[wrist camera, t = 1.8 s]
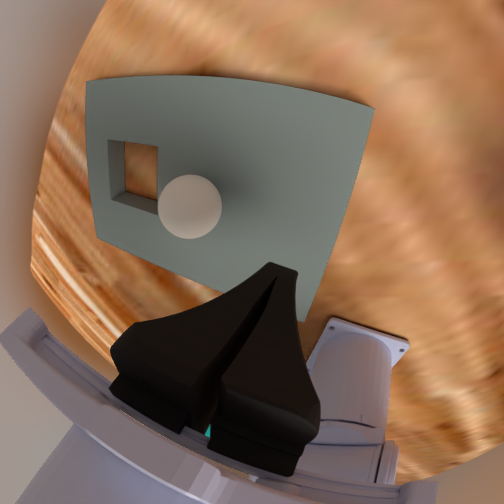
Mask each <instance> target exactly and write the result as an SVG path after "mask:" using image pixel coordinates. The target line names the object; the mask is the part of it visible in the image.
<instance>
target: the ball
mask: <svg viewBox="0 0 504 504" xmlns="http://www.w3.org/2000/svg"><path fill="white" fill-rule="evenodd" d="M221 211H222V201H221V197H220V194H219V192H218V190H217V188H216V187H215V186H214V185H213V184H212V183H211V182H210V181H209V180H207V179H206V178H204V177H201V176H198V175H183V176H180V177H177V178H175V179H174V180H172V181H171V182H169V183H168V184H167V185H166V186H165V188H164V189H163V191H162V193H161V195H160V198H159V202H158V213H159V217H160V220H161V222H162V224H163V225H164V227H165V228H166V229H167V230H168V231H169V232H170V233H172V234H173V235H175V236H177V237H180V238H184V239H195V238H199V237H202V236H204V235H206V234H207V233H209V232H210V231H211V230H212V229H213V228H214V227H215V226H216V224H217V223H218V221H219V219H220V216H221Z"/></svg>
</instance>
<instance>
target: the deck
mask: <svg viewBox="0 0 504 504" xmlns="http://www.w3.org/2000/svg"><path fill="white" fill-rule="evenodd" d="M374 110H375V108H372V107H368V106H365V105H362V104H359V103H356V102H352V101H349V100H345V99H342V98H338V97H334V96H330V95H326V94H322V93H318V92H314V91H309V90H305V89H300V88H295V87H290V86H284V85H279V84H273V83H266V82H259V81H252V80H244V79H234V78H223V77H210V76H186V75H156V76H134V77H120V78H110V79H101V80H93V81H86V104H85V126H86V152H87V166H88V178H89V187H90V196H91V203H92V211H93V217H94V224H95V229H96V235H97V238H98V239H100V240H102V241H105V242H107V243H109V244H111V245H113V246H115V247H117V248H120V249H122V250H124V251H126V252H128V253H130V254H133V255H135V256H137V257H139V258H142V259H144V260H146V261H148V262H151V263H153V264H155V265H157V266H160V267H162V268H164V269H167V270H169V271H171V272H174V273H176V274H178V275H181V276H183V277H186V278H188V279H190V280H193V281H195V282H198V283H200V284H203V285H205V286H207V287H210V288H212V289H215V290H217V291H220V292H222V293H226V292H227V291H229V290H231V289H232V288H234V287H236V286H237V285H239V284H240V283H242V282H243V281H245V280H246V279H247V278H249V277H250V276H252V275H253V274H254V273H255V272H257V271H258V270H259V269H260V268H262V267H263V266H264V265H265V264H266V263H268V262H273V263H276V264H279V265H282V266H285V267H287V268H290V269H293V270H296V271H297V272H298V277H297V282H296V316H297V321H300V322H303V323H304V321H305V319H306V316H307V314H308V312H309V309H310V307H311V304H312V302H313V299H314V297H315V294H316V292H317V289H318V287H319V284H320V282H321V279H322V277H323V274H324V271H325V269H326V266H327V263H328V261H329V258H330V255H331V253H332V250H333V247H334V244H335V241H336V239H337V236H338V233H339V230H340V227H341V224H342V221H343V218H344V215H345V212H346V209H347V206H348V203H349V200H350V197H351V193H352V190H353V187H354V184H355V180H356V177H357V174H358V170H359V167H360V163H361V160H362V156H363V153H364V149H365V145H366V142H367V138H368V134H369V130H370V126H371V122H372V118H373V114H374ZM124 142H132V143H138V144H145V145H151V146H157V147H158V164H157V199H158V201H155V200H151V199H148V198H145V197H141V196H138V195H135V194H131V193H128V192H126V188H125V167H124ZM183 175H198V176H201V177H204V178H206V179H207V180H209V181H210V182H211V183H212V184H213V185H214V186H215V187H216V188H217V190H218V192H219V194H220V197H221V201H222V211H221V216H220V219H219V221H218V223H217V224H216V226H215V227H214V228H213V229H212V230H211V231H210V232H209V233H207V234H206V235H204V236H202V237H199V238H195V239H184V238H180V237H177V236H175V235H173V234H172V233H170V232H169V231H168V230H167V229H166V228H165V227H164V225H163V224H162V222H161V220H160V217H159V213H158V202H159V198H160V195H161V193H162V191H163V189H164V188H165V186H166V185H167V184H168V183H169V182H171V181H172V180H174V179H175V178H177V177H180V176H183Z"/></svg>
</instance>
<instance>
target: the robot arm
mask: <svg viewBox="0 0 504 504" xmlns="http://www.w3.org/2000/svg"><path fill="white" fill-rule="evenodd" d="M297 277H298V272H297V271H296V270H293V269H290V268H287V267H285V266H282V265H279V264H276V263H273V262H268V263H266V264H265V265H264V266H263V267H262V268H260V269H259V270H258V271H257V272H255V273H254V274H253V275H252V276H250V277H249V278H247V279H246V280H245V281H243V282H242V283H240V284H239V285H237V286H236V287H234V288H232V289H231V290H229V291H227V292H226V293H224V294H222V295H220V296H219V297H217V298H215V299H213V300H211V301H209V302H206V303H204V304H202V305H199V306H197V307H195V308H192V309H189V310H187V311H184V312H181V313H177V314H174V315H170V316H167V317H163V318H159V319H154V320H148V321H143V322H136V323H134V324H133V325H132V326H130V327H129V328H128V329H127V330H126V331H125V332H124V333H123V334H122V335H121V336H120V337H119V338H118V340H117V341H116V342H115V343H114V344H113V345H112V346H111V348H110V353H111V357H112V359H113V361H114V363H115V366H116V368H117V370H118V372H119V375H118V377H117V378H116V379H115V380H114V381H113V383H112V382H111V381H109V380H108V379H107V378H105V377H104V376H102V375H101V374H100V373H98V372H97V371H96V370H94V369H93V368H92V367H90V366H89V365H88V364H86V363H85V362H84V361H83V360H81V359H80V358H79V357H78V356H76V355H75V354H74V353H73V352H72V351H70V350H69V349H68V348H67V347H66V346H64V345H63V344H62V343H61V342H60V341H59V340H58V339H56V338H55V337H54V336H53V335H52V334H51V333H50V332H49V331H48V328H47V326H46V325H45V323H44V321H43V320H42V319H41V318H40V317H39V316H38V315H37V314H36V313H35V312H34V311H33V310H32V309H31V308H28V309H27V310H25V311H24V312H23V313H22V314H21V315H20V316H19V317H18V318H17V319H16V320H15V321H14V322H13V323H11V324H10V325H9V326H8V327H7V328H6V329H5V330H4V331H3V332H2V333H1V334H0V343H1V344H2V346H3V347H4V348H5V350H6V351H7V352H8V354H9V355H10V356H11V357H12V359H13V360H14V361H15V363H16V364H17V365H18V366H19V367H20V369H21V370H22V371H23V372H24V373H25V375H26V376H27V377H28V378H29V379H30V380H31V381H32V382H33V384H34V385H35V386H36V387H37V388H38V389H39V390H40V391H41V392H42V393H43V394H44V395H45V396H46V397H47V398H48V399H49V400H50V401H51V402H52V403H53V404H54V405H55V406H56V407H57V408H58V409H59V410H60V411H61V412H62V413H63V414H64V415H66V416H67V417H68V418H69V419H70V420H71V421H72V422H74V425H73V426H72V428H71V429H70V430H69V431H68V432H67V434H66V435H65V436H64V438H63V439H62V440H61V442H60V443H59V445H58V446H57V447H56V448H55V450H54V451H53V452H52V453H51V455H50V456H49V458H48V459H47V460H46V462H45V463H44V464H43V466H42V467H41V468H40V470H39V471H38V472H37V474H36V475H35V477H34V478H33V479H32V481H31V482H30V484H29V485H28V486H27V488H26V489H25V491H24V492H23V494H22V495H21V496H20V498H19V499H18V500H17V502H16V503H15V504H435V502H436V497H437V490H438V483H439V482H438V481H421V480H420V481H411V482H407V483H405V484H403V485H394V482H395V477H396V471H397V465H398V457H399V446H398V445H397V444H395V442H394V440H385V432H386V425H387V416H388V407H389V397H390V383H391V368H392V367H393V366H394V365H395V364H396V363H397V362H398V360H399V359H400V358H401V357H402V356H403V355H404V353H405V352H406V351H407V350H408V349H409V347H410V343H409V341H407V340H403V339H400V338H397V337H394V336H390V335H387V334H384V333H381V332H378V331H375V330H372V329H368V328H365V327H362V326H359V325H356V324H353V323H350V322H347V321H344V320H341V319H338V318H330V319H329V321H328V323H327V325H326V327H325V329H324V330H323V332H322V334H321V336H320V338H319V340H318V342H317V344H316V346H315V348H314V349H313V351H312V353H311V355H310V357H309V359H308V360H307V362H305V359H304V355H303V352H302V347H301V343H300V338H299V332H298V325H297V316H296V282H297ZM330 326H333V327H330ZM118 408H119V409H118ZM120 410H122V411H123V412H125V413H126V414H128V415H129V416H131V417H132V418H134V419H135V420H137V421H139V422H140V423H142V424H144V425H145V426H147V427H149V428H150V429H152V430H154V431H155V432H157V433H159V434H161V435H162V436H164V437H166V438H168V439H170V440H172V441H174V442H175V443H177V444H179V445H181V446H183V447H185V448H188V449H190V450H191V451H194V452H196V453H198V454H200V455H202V456H205V457H207V458H209V459H211V460H214V461H216V462H218V463H221V464H223V465H225V466H228V467H231V468H233V469H236V470H238V471H241V472H244V473H247V474H250V475H249V480H248V479H246V478H243V477H241V476H239V475H236V474H234V473H232V472H229V471H227V470H225V469H223V468H221V467H218V466H216V465H215V464H213V463H212V462H210V461H208V460H207V459H205V458H203V457H201V456H199V455H197V454H195V453H193V452H191V451H189V450H187V449H185V448H183V447H181V446H179V445H177V444H175V443H174V442H172V441H170V440H168V439H166V438H164V437H162V436H161V435H159V434H157V433H155V432H154V431H152V430H150V429H149V428H147V427H145V426H143V425H142V424H140V423H139V422H137V421H135V420H134V419H132V418H131V417H129V416H128V415H126V414H124V413H123V412H122V411H120ZM209 425H210V437H208V436H206V435H205V433H206V431H207V429H208V427H209Z"/></svg>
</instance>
